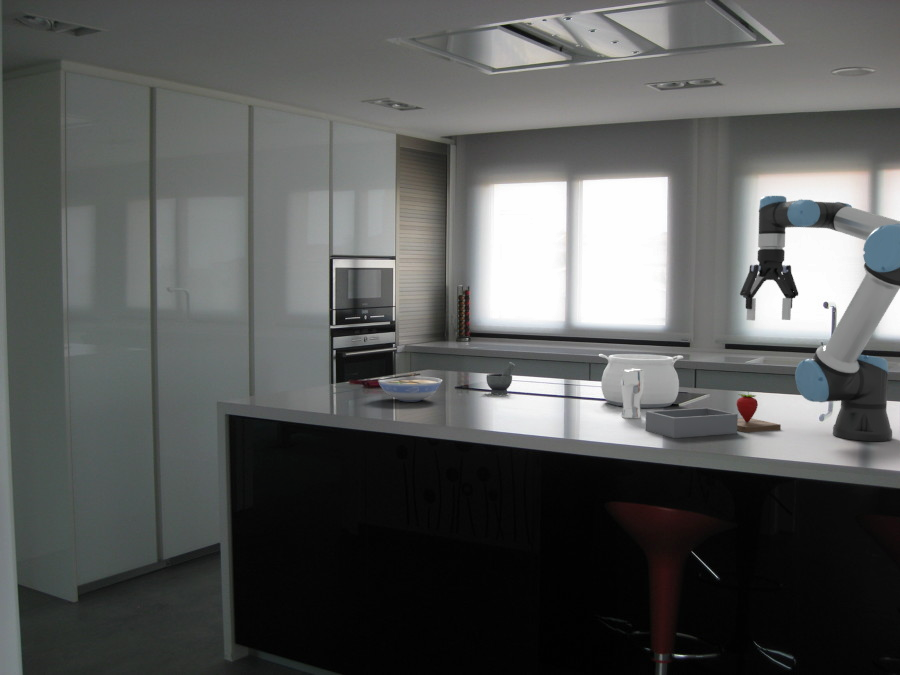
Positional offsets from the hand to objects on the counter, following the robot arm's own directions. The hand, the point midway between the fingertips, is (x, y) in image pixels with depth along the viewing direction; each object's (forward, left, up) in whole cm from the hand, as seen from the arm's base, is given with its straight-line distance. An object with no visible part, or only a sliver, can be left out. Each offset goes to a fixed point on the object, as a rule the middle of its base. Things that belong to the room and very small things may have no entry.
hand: (768, 320), depth 265 cm
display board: (-1, +8, -32) cm, 33 cm away
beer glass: (+26, +30, -32) cm, 51 cm away
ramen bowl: (+83, +83, -32) cm, 122 cm away
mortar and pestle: (+90, +44, -32) cm, 105 cm away
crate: (-2, +29, -32) cm, 43 cm away
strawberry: (-1, +8, -30) cm, 31 cm away
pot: (+50, +10, -32) cm, 60 cm away
